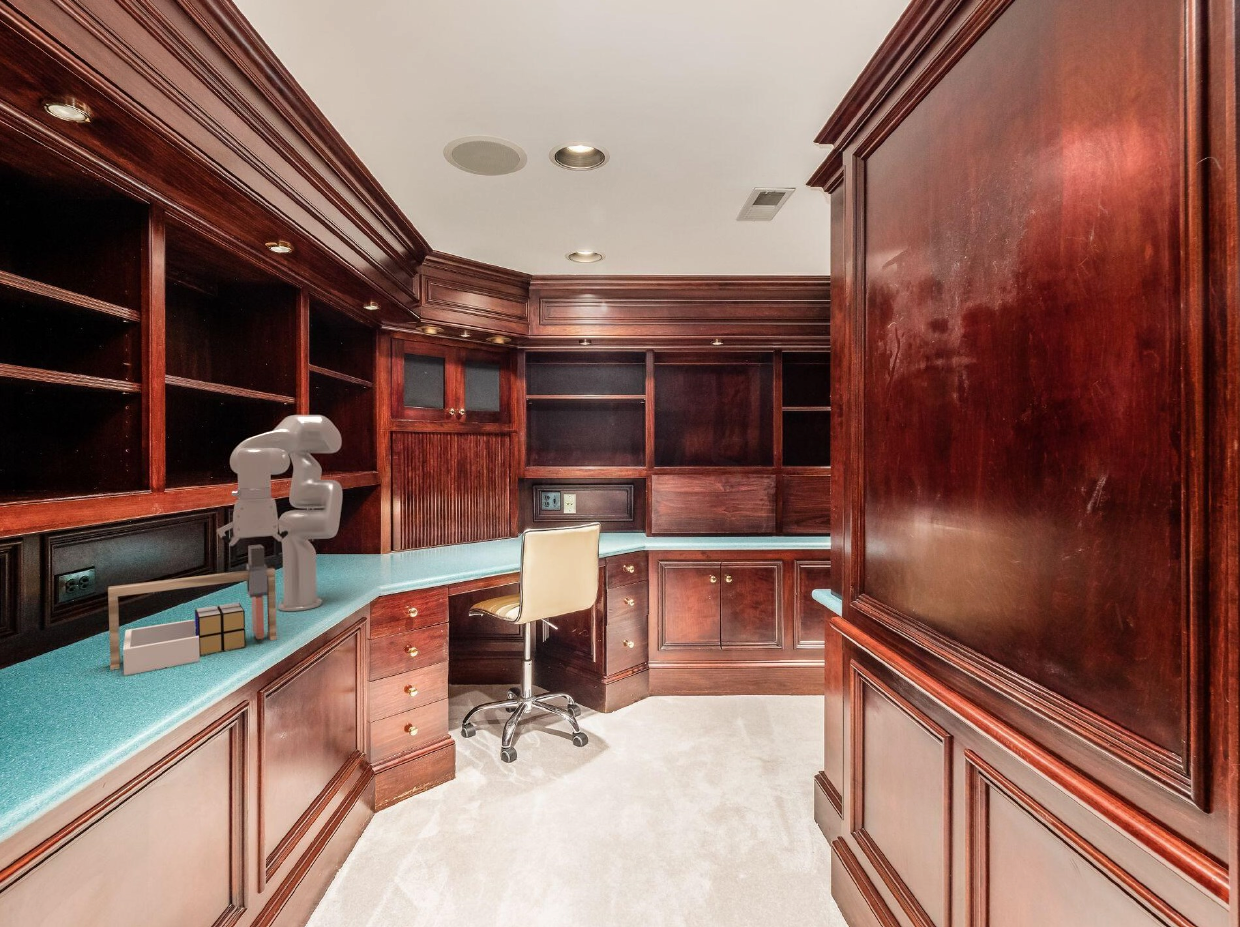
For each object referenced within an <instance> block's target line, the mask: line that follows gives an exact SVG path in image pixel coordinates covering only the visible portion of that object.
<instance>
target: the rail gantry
mask: <svg viewBox="0 0 1240 927" xmlns="http://www.w3.org/2000/svg"><path fill="white" fill-rule="evenodd" d="M247 580H249V570H248V571H247V570H241V571H239V570H238V571H232V572H222V573H215V574H207V575H198V576H190V577H181V578H174V579H164V580H156V581H146V582H140V583H139V582H138V583H128V584H121V585H114V586H108V588H107V594H108V595H107V597H108V598H107V599H108V623H109V625H108V627H109V629H108V630H109V654H110V655H109V656H110V658H109V660H110V665H109V666H110V671H114V669H115V670H119V669H120V666H121V655H120V654H121V652H120V651H121V650H120V646H121V645H120V624H119V623H120V622H119V621H120V620H119V618H120V617H119V597H125V596H132V595H141V594H148V593H157V592H163V591H171V590H179V589H180V590H181V589H187V588H195V587H196V588H197V587H203V586H204V587H205V586H212V585H219V584H225V583H226V584H229V583H234V582H236V583H237V582H242V581H243V582H244V581H247ZM276 596H277V595H276V569H275V568H274V567H267V595H266V602H267V603H266V604H267V608H266V609H267V610H266V611H267V613H266V614H267V632H266V636H267V637H268V639H269V640H270V641H276V639H277V640H278V635H277V605H276Z"/></svg>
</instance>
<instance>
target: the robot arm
mask: <svg viewBox="0 0 1240 927" xmlns="http://www.w3.org/2000/svg"><path fill="white" fill-rule="evenodd" d="M341 447H342V435H341V433H340V431H339V430H338V428H337V427H336V426H335V425H334V423H333V422H332V421H331V420H330V419H329V418H327V417H326V416H324V415H321V414H294V415H289V416H286V417H284V419H282V421H281V422H280V423H279V424H278V425H277V426H275V428H274V429H273V430H271V431H266V432H264V433H261V434H258V435H255V436H252V437H248V438H246V439H245V440H243V441H242V442H240V443H239V444H238V445H237V446H236V447H235V448H234V449H233V451H232V453H231V455H230V458H229V465H230V469H231V470H232V471H233V472H234V473H235V474H237V489H236V490H232V491H231V497H236V498H238V499H237V500H235V503H234V506H233V513H232V514H233V515H232V521H231V522H229V523H227V524H226V525H223V526H222V527H219V528H217V529H216V533H217V534H218V535H219V537H220V538H221V540H222V541H224V542H225V543H226V544H228V545H229V558H232V560H233V561H234V562H235V561H238V546H237V542H238V541H239V540H240V539H250V538H264V537H270V536H271V537H273V538H274V540H273V555H274V556H275V557H279V556H280V553H282V576H283V577H282V578H283V579H282V580H283V582H282V583H283V588H282V589H283V601H282V602H281V603H279V604H278V610H279V611H282V612H298V611H299V612H300V611H305V610H313V609H315V608H318V607H320V606H321V605H322V604H323V600H322V599H321V598H319V597H318V596H317V595H318V594H317V552H316V549H315V547H314V546H313V544H312V543H311V542H310V540H318V539H319V540H320V539H321V540H322V539H325V540H326V539H331V538H334V537H335V536H337V535H338V531H339V527H340V521H341V520H340V519H341V512H342V505H343V488H342V485H341V484H340V482H339V481H337V480H335V479H322V471H323V470H322V467H321V465H320V462H318V461H317V460H316V459H315V457H314V456H312V455H311V454H334V453H337V452H338V451H339V450H340V449H341ZM291 463H292V466H293V471H292V477H291V484H290V489H289V495H288V496H289V503H290V505H291V506H292V507H294V508H297V509H293V510H289V511H285V512H284V513H282V514H281V516H280V517H279V518H278V511H277V510H278V509H277V503H276V499H275V498H272V489H271V488H272V485H271V484H272V483H271V481H272V479H271V475H273V476H274V475H280V474H283V473H285V472H286V471H287V470H288V469H289V467H290V464H291ZM231 529H232V534H233V536H232V537H231V538H230V537H228V536H227V535H226V533H225V532H226V531H229V530H231ZM278 533H279V534H278Z"/></svg>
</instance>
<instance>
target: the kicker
mask: <svg viewBox="0 0 1240 927" xmlns="http://www.w3.org/2000/svg"><path fill="white" fill-rule="evenodd" d="M247 549H248V553H247V554H248V563H246V568H245V569H246V571H248V570H249V580H246V594H247V595H248V597H249V599H250V598H251V625H252V628H251V629H252V630H251V631H252V633H253V634H254V636H255V638H256V640H259V639H260V640H261V639H265V620H264V618H265V617H264V596H266V597H267V568H268V566H267V565H266V563H265V547H264V546H263V545H262V544H253V545H248V546H247Z"/></svg>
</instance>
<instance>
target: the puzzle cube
mask: <svg viewBox="0 0 1240 927" xmlns="http://www.w3.org/2000/svg"><path fill="white" fill-rule="evenodd" d="M245 612H246V611H245V609H244V607H243V606H242V605H241V603H240V602H233V603H226V604H219V605H218V606H217V605H214V606H206V607H200V608H196V609H194V619H195V636H199V654H200V657H202V656H207V655H206V654H208V655H212V654H217V653H216V652H218V653H222V652H227V651H226V650H229V651H233V649H234V650H238V649H244V648H245V647H247V645H246V642H247V641H246V629H245V628H246V615H245Z"/></svg>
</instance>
